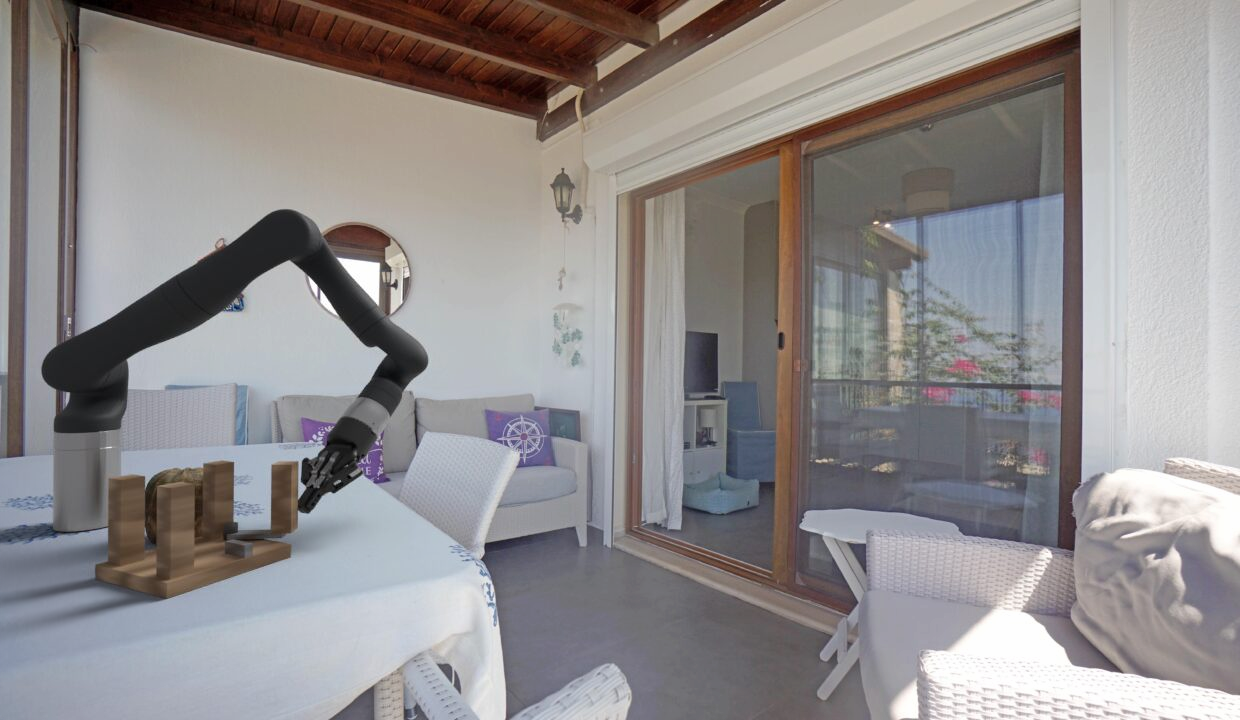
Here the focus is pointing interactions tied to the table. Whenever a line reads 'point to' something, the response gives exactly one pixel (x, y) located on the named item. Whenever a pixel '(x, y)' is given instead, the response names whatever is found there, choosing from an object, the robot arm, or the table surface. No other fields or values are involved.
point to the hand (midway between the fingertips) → (301, 510)
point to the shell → (167, 478)
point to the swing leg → (275, 505)
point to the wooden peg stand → (179, 536)
